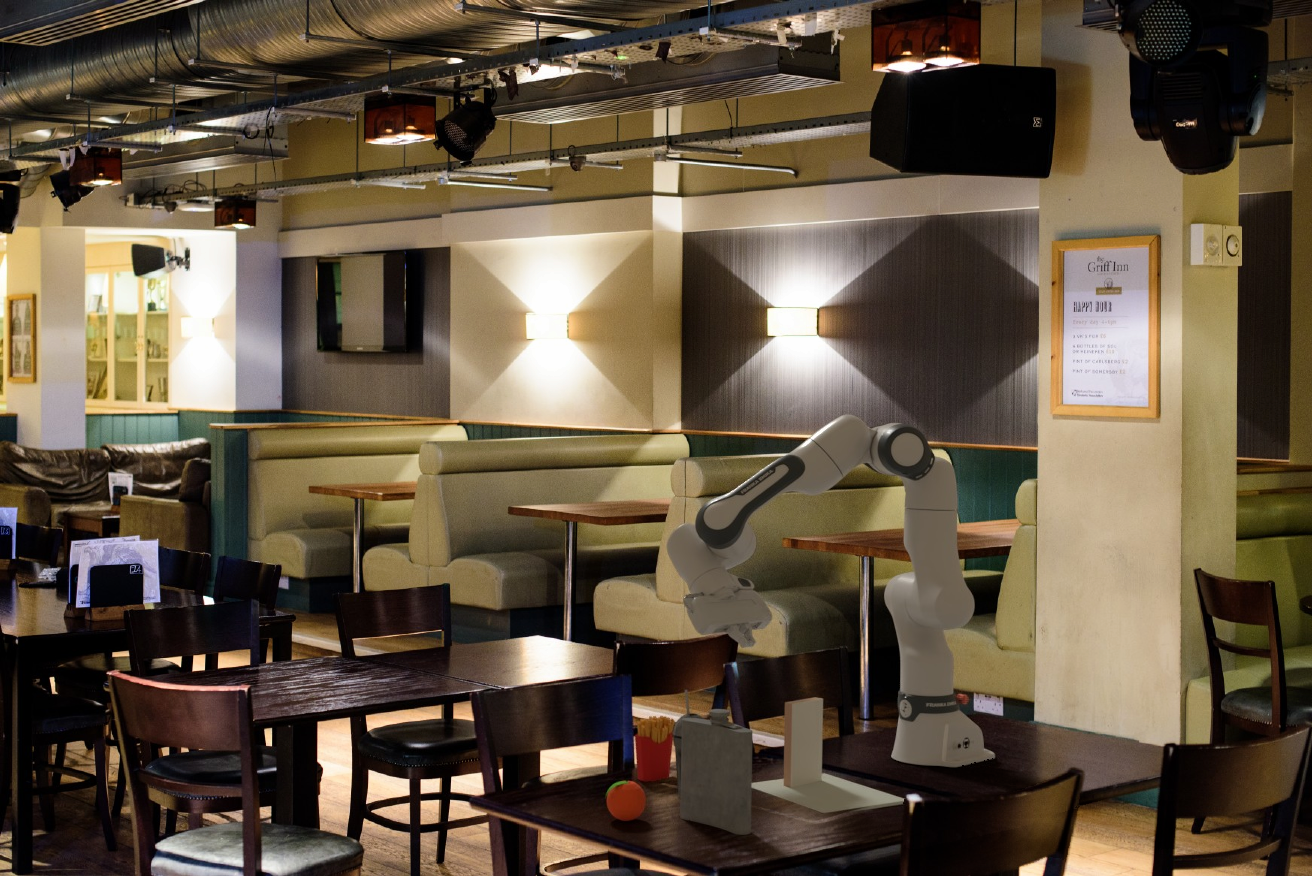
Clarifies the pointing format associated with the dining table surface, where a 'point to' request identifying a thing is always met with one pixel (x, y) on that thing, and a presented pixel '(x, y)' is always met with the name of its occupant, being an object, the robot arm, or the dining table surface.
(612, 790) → the clementine
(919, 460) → the robot arm
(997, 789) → the dining table surface
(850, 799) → the mat
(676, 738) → the beverage cup
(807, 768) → the tile
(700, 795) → the hip flask
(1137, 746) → the dining table surface
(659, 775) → the french fries
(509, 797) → the dining table surface
